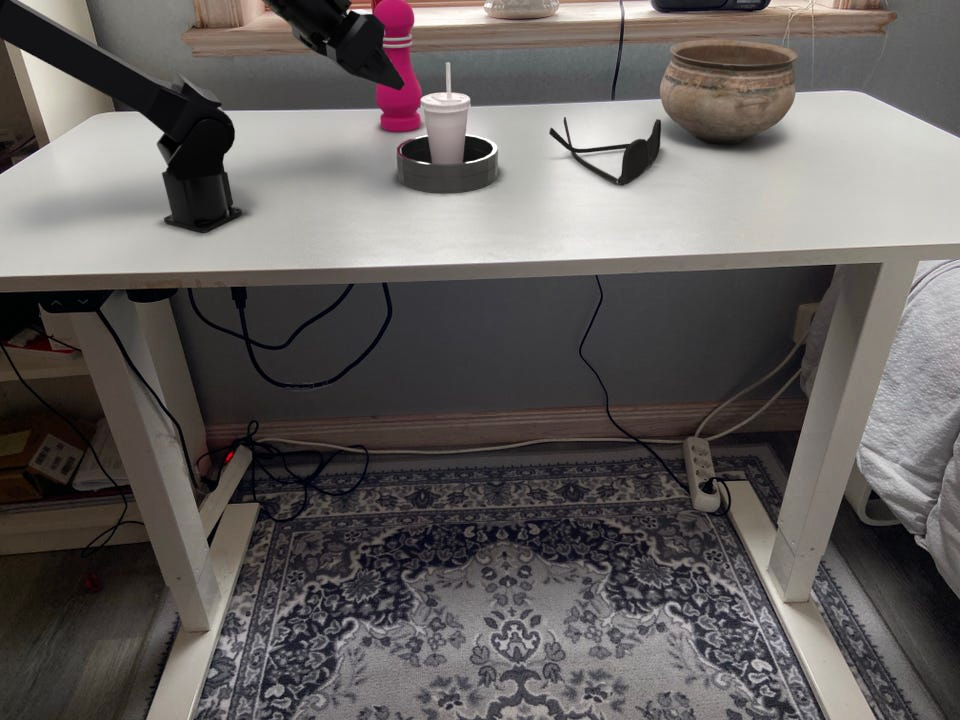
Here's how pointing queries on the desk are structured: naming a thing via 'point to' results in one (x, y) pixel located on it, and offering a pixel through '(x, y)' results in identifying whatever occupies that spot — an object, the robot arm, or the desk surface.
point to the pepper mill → (398, 68)
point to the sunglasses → (633, 159)
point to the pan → (447, 166)
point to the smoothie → (446, 123)
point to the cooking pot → (728, 88)
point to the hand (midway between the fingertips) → (388, 78)
